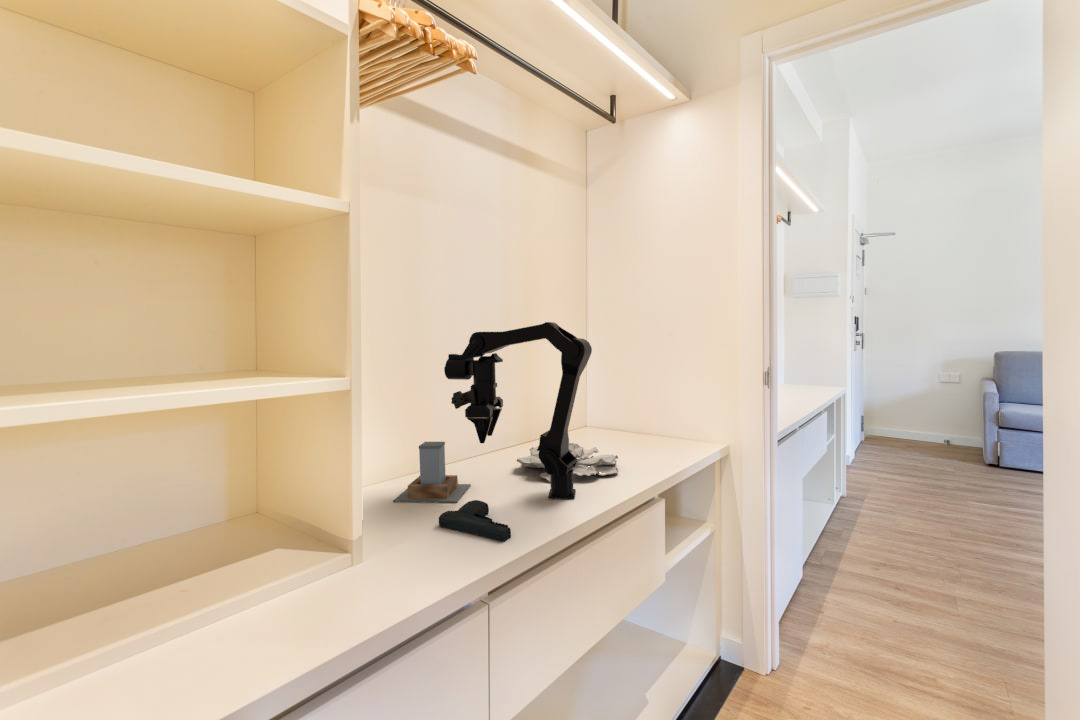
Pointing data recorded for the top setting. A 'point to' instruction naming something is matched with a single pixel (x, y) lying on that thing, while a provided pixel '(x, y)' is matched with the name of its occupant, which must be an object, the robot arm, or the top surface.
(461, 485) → the mat
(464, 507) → the handgun
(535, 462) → the decorative wall flower
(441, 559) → the top surface
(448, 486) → the brown square open frame
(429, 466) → the tin
